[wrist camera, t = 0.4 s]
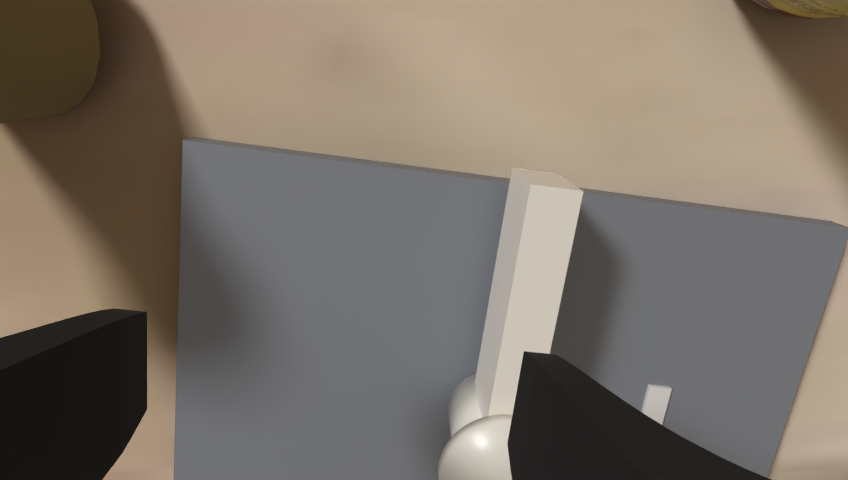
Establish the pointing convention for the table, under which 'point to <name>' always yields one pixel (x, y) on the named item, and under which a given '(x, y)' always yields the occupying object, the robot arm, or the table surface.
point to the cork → (46, 56)
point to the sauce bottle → (807, 7)
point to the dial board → (462, 312)
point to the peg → (512, 321)
